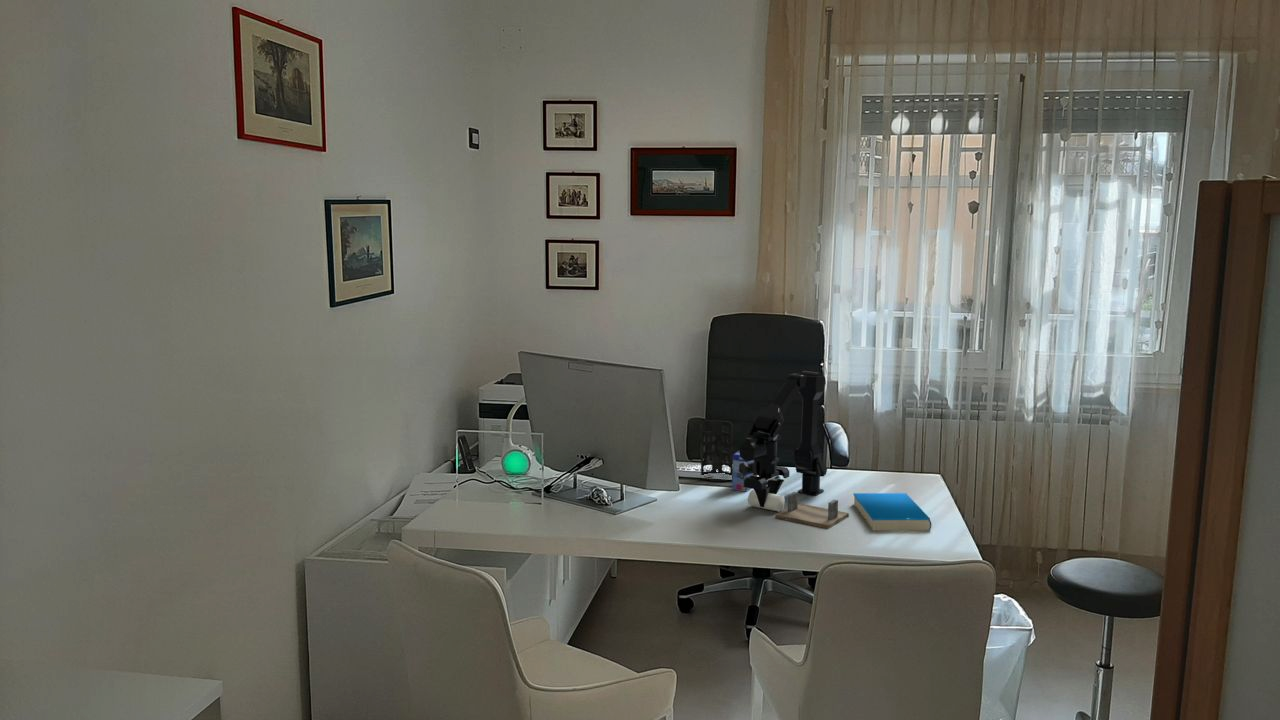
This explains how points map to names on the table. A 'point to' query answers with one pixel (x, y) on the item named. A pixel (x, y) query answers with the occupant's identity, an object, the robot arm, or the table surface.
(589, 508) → the table surface
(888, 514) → the book
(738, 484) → the blue purple upright box
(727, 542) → the table surface
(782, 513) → the roll holder
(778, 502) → the cylinder
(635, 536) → the table surface
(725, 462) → the holder
